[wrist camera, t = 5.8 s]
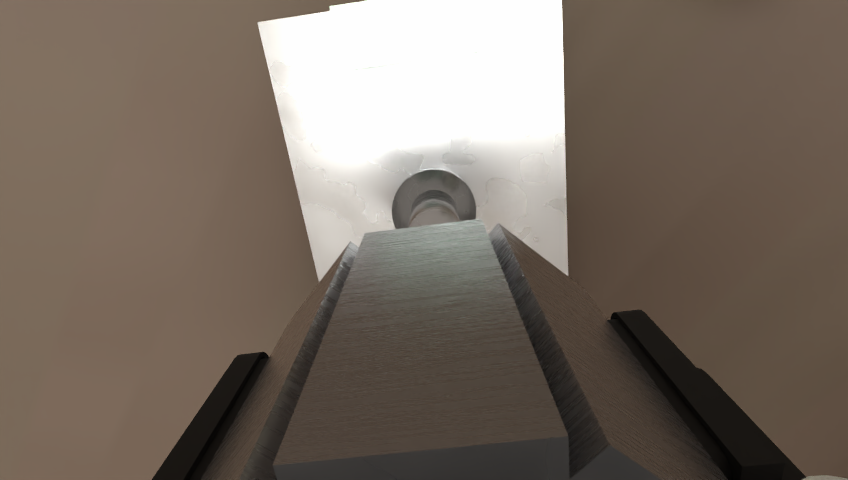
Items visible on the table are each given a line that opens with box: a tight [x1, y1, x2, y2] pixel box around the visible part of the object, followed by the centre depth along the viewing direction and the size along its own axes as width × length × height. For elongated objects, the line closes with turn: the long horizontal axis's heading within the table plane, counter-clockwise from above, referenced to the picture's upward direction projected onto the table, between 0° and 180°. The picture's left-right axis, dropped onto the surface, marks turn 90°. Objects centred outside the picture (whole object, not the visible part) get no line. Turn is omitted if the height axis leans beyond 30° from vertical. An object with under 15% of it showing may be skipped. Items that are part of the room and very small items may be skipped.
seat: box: [257, 0, 568, 282], centre depth 22 cm, size 20×14×6 cm
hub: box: [201, 219, 728, 480], centre depth 8 cm, size 7×7×6 cm
